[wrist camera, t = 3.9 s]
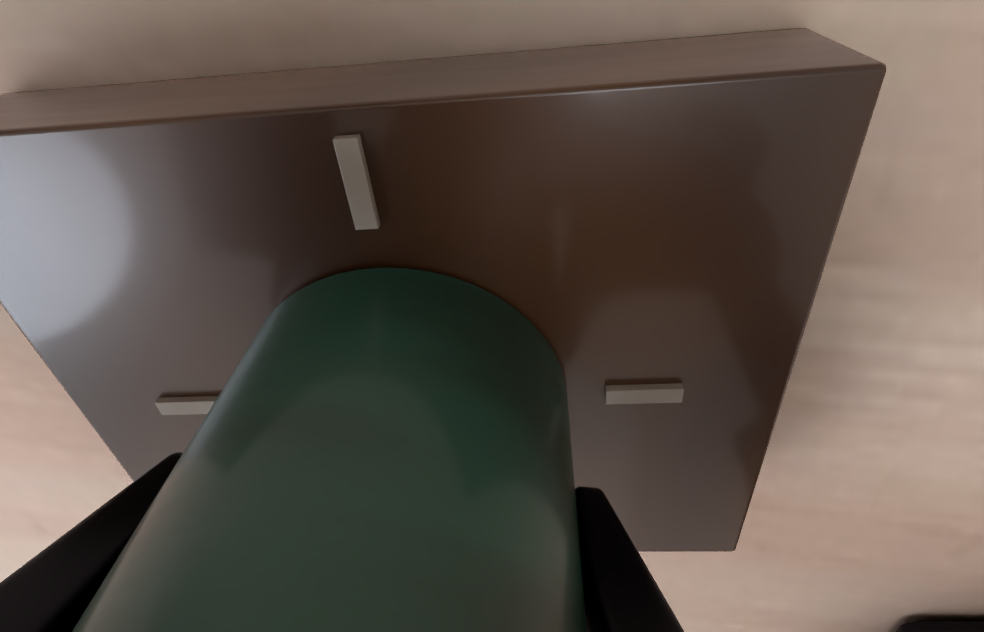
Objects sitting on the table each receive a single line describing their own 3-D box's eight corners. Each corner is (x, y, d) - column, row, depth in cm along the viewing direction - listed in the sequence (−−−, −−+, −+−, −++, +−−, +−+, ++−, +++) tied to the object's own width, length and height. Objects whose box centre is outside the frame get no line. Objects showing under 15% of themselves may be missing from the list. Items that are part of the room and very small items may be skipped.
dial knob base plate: (808, 26, 9) (898, 66, 7) (708, 468, 15) (738, 559, 13) (4, 92, 10) (-135, 144, 8) (226, 474, 17) (182, 559, 15)
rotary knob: (611, 453, 11) (731, 1231, 5) (368, 517, 13) (207, 1146, 7) (477, 208, 8) (275, 1477, 2) (182, 337, 10) (-485, 1186, 3)
